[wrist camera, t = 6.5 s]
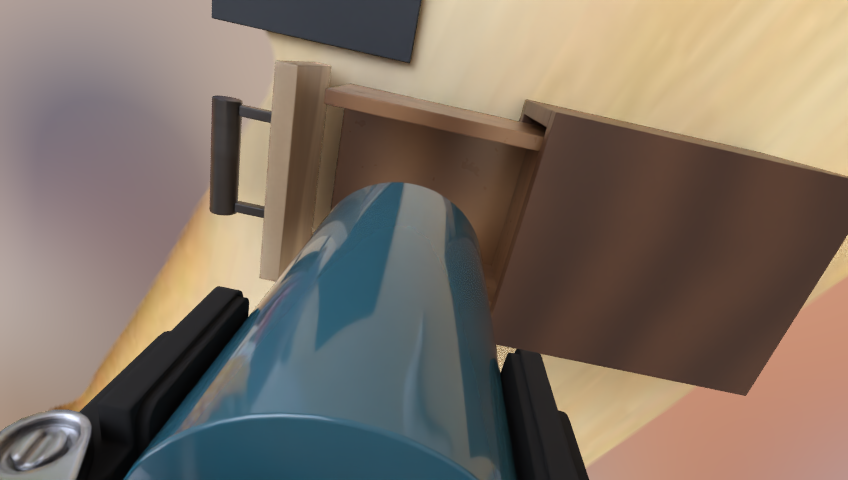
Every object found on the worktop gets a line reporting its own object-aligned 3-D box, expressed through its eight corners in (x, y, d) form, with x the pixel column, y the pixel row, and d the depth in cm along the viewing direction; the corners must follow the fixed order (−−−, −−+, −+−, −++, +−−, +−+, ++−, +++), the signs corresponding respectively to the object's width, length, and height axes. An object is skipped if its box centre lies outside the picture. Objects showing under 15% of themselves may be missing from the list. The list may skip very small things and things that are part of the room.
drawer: (239, 225, 33) (188, 264, 26) (248, 46, 28) (189, 41, 22) (494, 279, 33) (506, 329, 27) (545, 113, 29) (574, 127, 22)
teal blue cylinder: (326, 164, 15) (86, 370, 5) (501, 202, 16) (597, 473, 5) (305, 342, 18) (128, 688, 8) (451, 372, 19) (453, 747, 8)
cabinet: (474, 276, 34) (483, 342, 26) (525, 99, 29) (556, 112, 21) (676, 319, 35) (746, 396, 27) (760, 152, 30) (879, 185, 22)
